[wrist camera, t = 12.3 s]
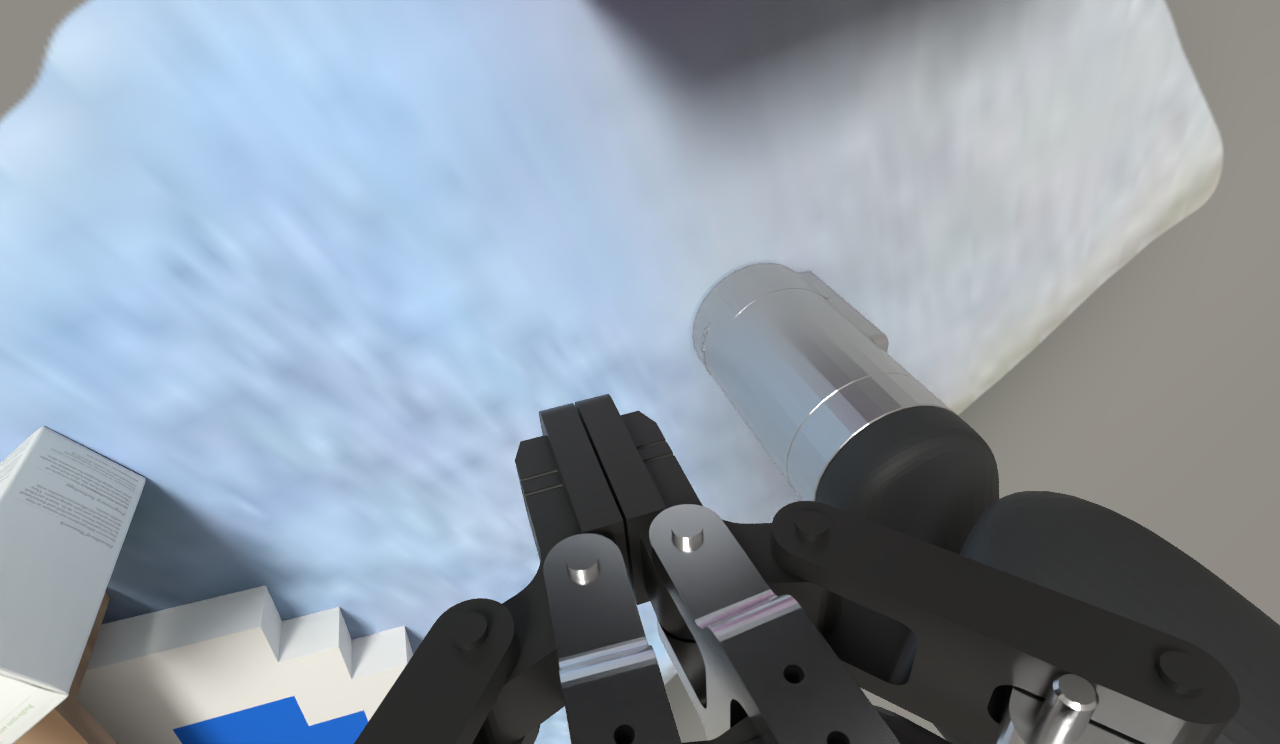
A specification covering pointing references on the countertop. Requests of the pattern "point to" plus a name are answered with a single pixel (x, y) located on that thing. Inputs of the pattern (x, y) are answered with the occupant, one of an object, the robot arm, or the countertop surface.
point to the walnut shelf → (72, 707)
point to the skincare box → (54, 566)
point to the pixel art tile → (238, 675)
